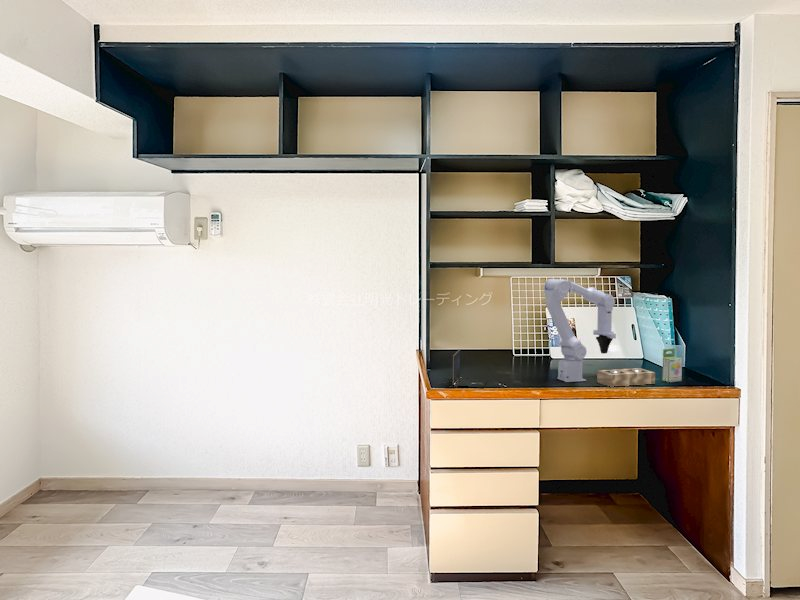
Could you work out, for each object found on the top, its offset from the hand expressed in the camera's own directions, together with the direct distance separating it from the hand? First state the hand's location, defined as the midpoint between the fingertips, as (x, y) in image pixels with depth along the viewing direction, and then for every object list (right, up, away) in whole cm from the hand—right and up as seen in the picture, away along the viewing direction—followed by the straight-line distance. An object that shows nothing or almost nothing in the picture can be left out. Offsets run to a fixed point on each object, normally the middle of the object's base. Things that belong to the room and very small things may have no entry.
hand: (604, 353), depth 266 cm
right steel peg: (+10, -11, -11) cm, 19 cm away
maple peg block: (+5, -11, -13) cm, 18 cm away
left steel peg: (0, -11, -14) cm, 18 cm away
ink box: (+25, -11, -8) cm, 29 cm away
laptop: (-58, -12, -11) cm, 61 cm away
